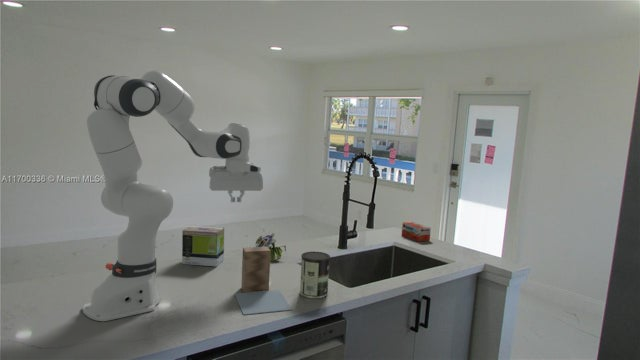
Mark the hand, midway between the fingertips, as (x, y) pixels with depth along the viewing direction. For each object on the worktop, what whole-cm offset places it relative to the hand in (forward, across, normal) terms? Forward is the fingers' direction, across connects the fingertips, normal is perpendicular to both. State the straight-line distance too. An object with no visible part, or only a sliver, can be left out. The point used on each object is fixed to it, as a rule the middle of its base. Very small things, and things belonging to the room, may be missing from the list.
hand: (235, 202), depth 168 cm
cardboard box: (+29, +5, -17) cm, 34 cm away
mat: (+29, +5, -29) cm, 41 cm away
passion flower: (+29, +19, +19) cm, 40 cm away
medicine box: (+29, +109, +40) cm, 119 cm away
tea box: (+29, -10, +17) cm, 36 cm away
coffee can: (+29, +25, -25) cm, 46 cm away
